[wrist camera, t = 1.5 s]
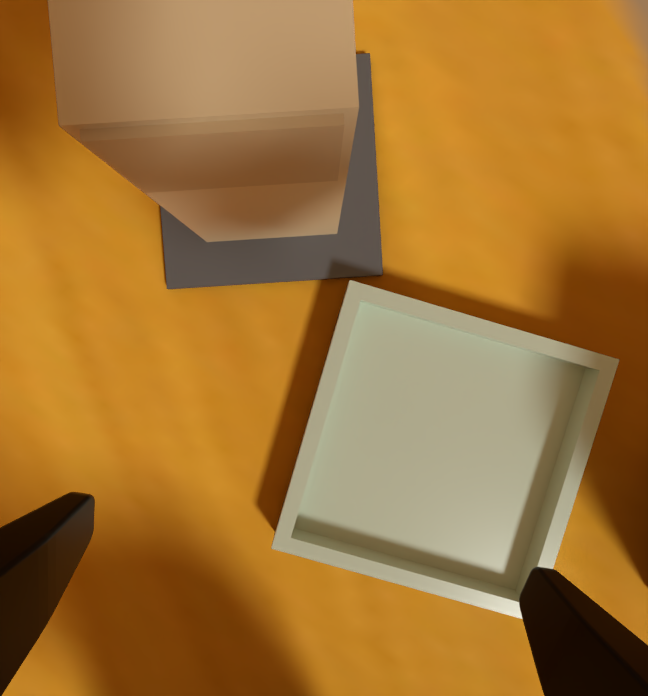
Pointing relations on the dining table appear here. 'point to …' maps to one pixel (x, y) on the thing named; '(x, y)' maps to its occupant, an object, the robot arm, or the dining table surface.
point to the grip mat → (301, 251)
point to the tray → (442, 449)
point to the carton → (215, 106)
